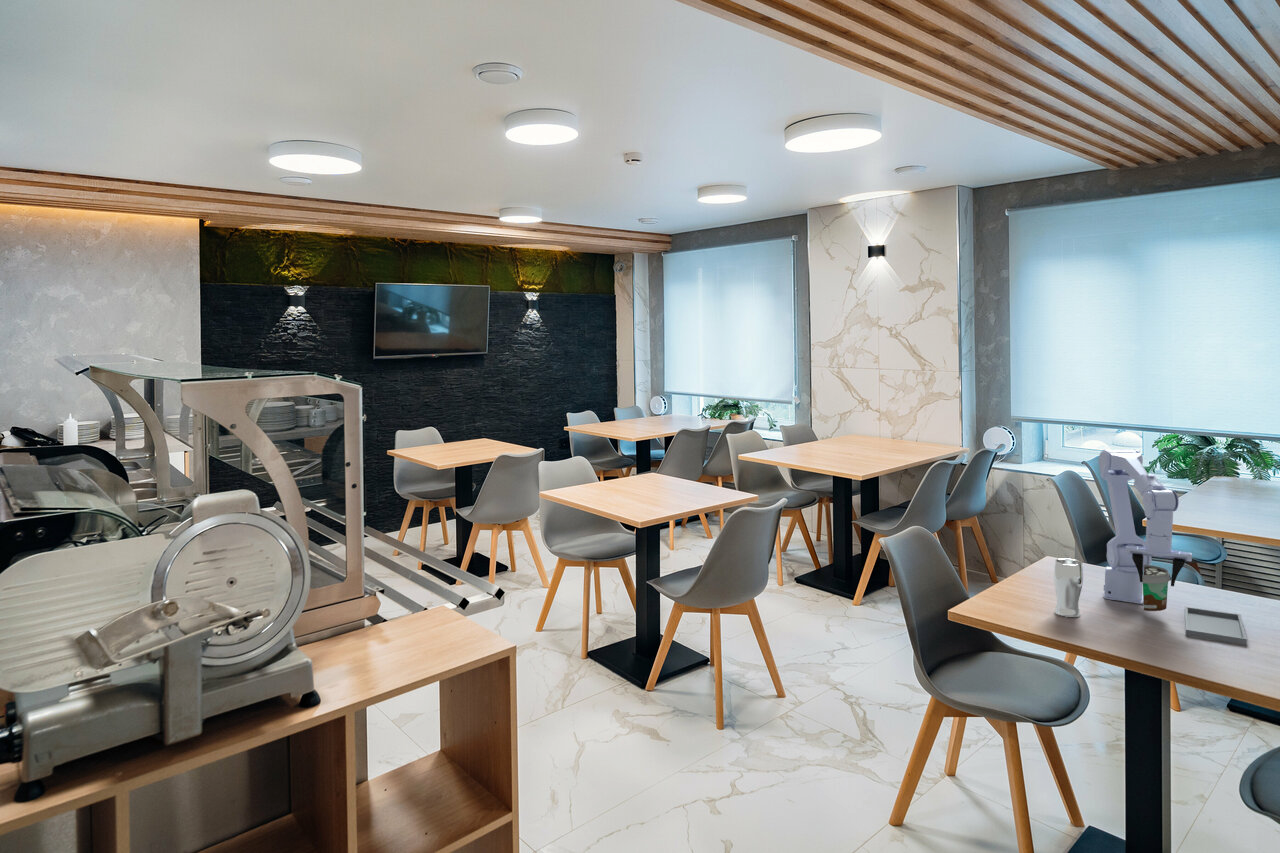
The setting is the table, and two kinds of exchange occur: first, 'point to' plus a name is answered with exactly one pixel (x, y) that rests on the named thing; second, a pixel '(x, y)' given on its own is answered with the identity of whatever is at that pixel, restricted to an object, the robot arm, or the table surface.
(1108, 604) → the table surface
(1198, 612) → the gray tray
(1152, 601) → the food container
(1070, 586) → the beer glass
